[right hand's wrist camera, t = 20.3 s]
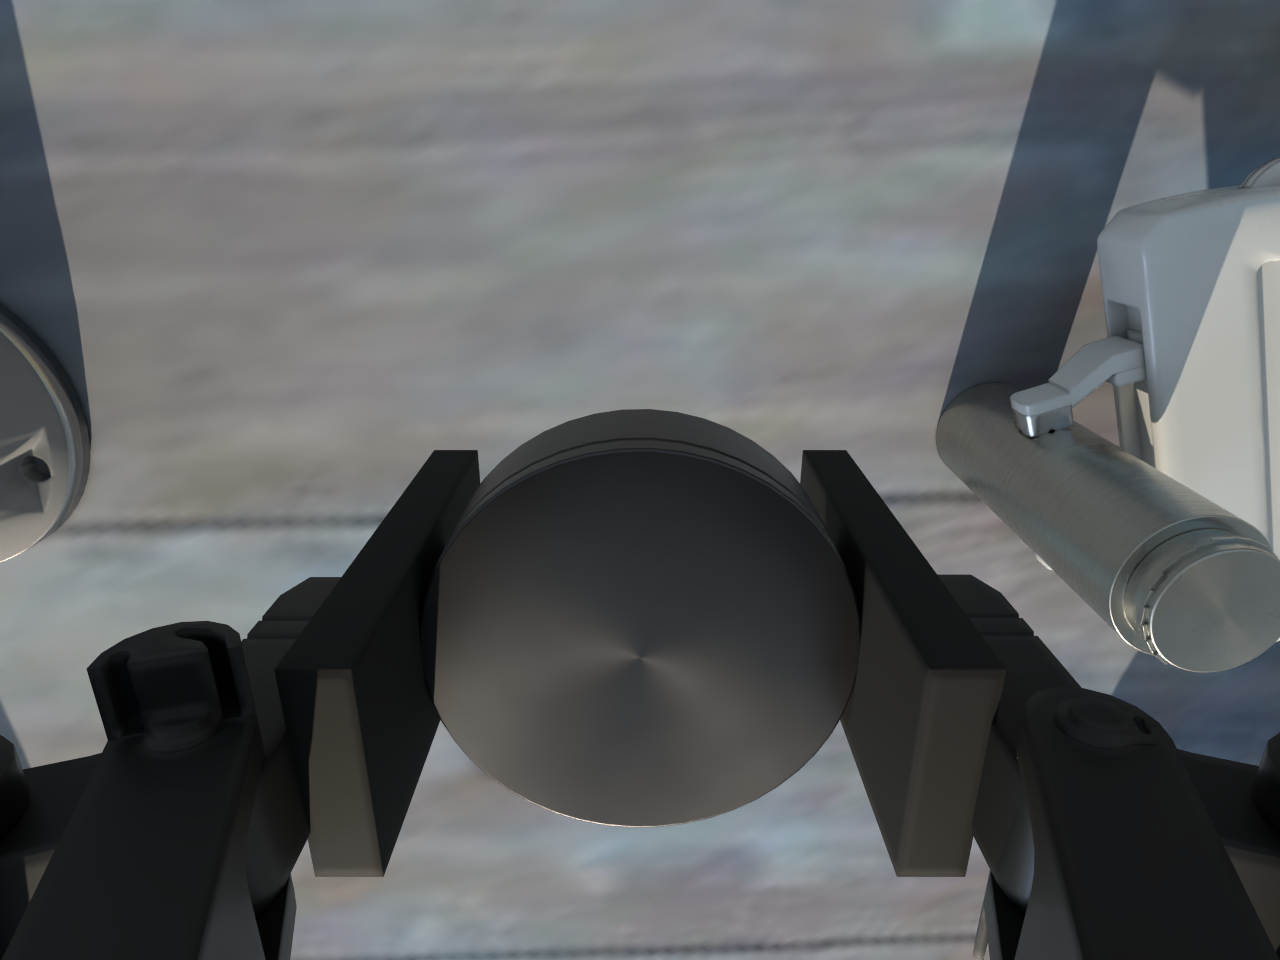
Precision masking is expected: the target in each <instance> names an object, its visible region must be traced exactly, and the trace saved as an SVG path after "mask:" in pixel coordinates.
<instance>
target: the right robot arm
mask: <svg viewBox="0 0 1280 960" xmlns="http://www.w3.org/2000/svg"><path fill="white" fill-rule="evenodd" d="M89 465H90V442H89V435H88V429H87V424H86V420H85V416H84V413H83V410H82V407H81V404H80V402H79V399H78V397H77V395H76V392H75V390H74V388H73V386H72V384H71V382H70V381H69V379H68V377H67V375H66V373H65V372H64V370H63V369H62V367H61V366H60V364H59V363H58V361H57V360H56V358H55V357H54V356H53V354H52V353H51V352H50V351H49V349H48V348H47V347H46V346H45V344H44V343H43V342H42V341H41V340H40V339H39V338H38V337H37V336H36V335H35V333H34V332H33V331H32V330H31V329H29V328H28V327H27V326H26V325H25V324H24V323H23V322H22V321H21V320H20V319H19V318H17V317H16V316H15V315H14V314H12V313H11V312H10V311H9V310H7V309H6V308H5V307H3V306H2V305H0V562H2V561H5V560H7V559H10V558H12V557H14V556H16V555H18V554H20V553H22V552H24V551H26V550H27V549H29V548H30V547H32V546H34V545H35V544H37V543H38V542H40V541H42V540H43V539H45V538H46V537H48V536H49V535H51V534H52V533H53V532H55V531H56V530H57V529H58V528H59V527H60V526H61V525H63V524H64V522H65V521H66V520H67V519H68V518H69V517H70V515H71V514H72V513H73V511H74V510H75V508H76V506H77V505H78V503H79V501H80V499H81V497H82V495H83V492H84V489H85V486H86V483H87V478H88V473H89ZM479 485H480V475H479V462H478V450H434V452H433V453H432V454H431V456H430V457H429V458H428V460H427V461H426V462H425V464H424V465H423V467H422V468H421V469H420V471H419V472H418V473H417V475H416V476H415V478H414V479H413V480H412V482H411V483H410V484H409V486H408V487H407V488H406V490H405V491H404V493H403V494H402V495H401V497H400V498H399V499H398V501H397V502H396V504H395V505H394V506H393V508H392V509H391V510H390V512H389V513H388V514H387V516H386V517H385V519H384V520H383V521H382V523H381V524H380V525H379V527H378V528H377V529H376V531H375V532H374V534H373V535H372V536H371V538H370V539H369V540H368V542H367V543H366V545H365V546H364V547H363V549H362V550H361V551H360V553H359V554H358V555H357V557H356V558H355V560H354V561H353V562H352V564H351V565H350V566H349V568H348V569H347V571H346V572H345V573H344V575H343V576H342V577H310V578H308V579H307V580H305V581H303V582H302V583H300V584H298V585H297V586H295V587H293V588H292V589H290V590H288V591H287V592H285V593H284V594H282V595H280V596H279V598H278V599H277V600H276V601H275V602H274V604H273V605H272V606H271V607H270V608H269V609H268V611H267V612H266V613H265V614H264V615H263V617H262V618H263V619H262V621H258V622H257V624H256V625H255V626H254V627H253V628H252V630H251V631H250V632H249V633H248V637H247V639H243V640H242V641H241V639H240V634H239V633H238V632H237V631H235V630H234V629H232V628H231V627H230V626H228V625H226V624H220V623H215V622H210V621H196V622H180V623H175V624H171V625H166V626H162V627H157V628H152V629H150V630H147V631H145V632H142V633H139V634H137V635H134V636H132V637H129V638H126V639H124V640H122V641H121V642H119V643H117V644H116V645H114V646H113V647H111V648H109V649H108V650H106V651H104V652H103V653H101V654H100V655H99V656H98V657H97V658H96V659H95V660H94V662H93V663H92V664H91V665H90V666H89V667H88V668H87V672H88V675H89V679H90V682H91V685H92V689H93V692H94V695H95V699H96V702H97V705H98V709H99V712H100V715H101V718H102V722H103V725H104V728H105V732H106V735H107V738H108V742H107V744H106V746H105V748H104V750H103V752H102V753H100V754H96V755H92V756H88V757H83V758H78V759H73V760H68V761H63V762H58V763H53V764H48V765H44V766H39V767H34V768H29V769H24V770H23V769H22V766H21V763H20V761H19V758H18V755H17V752H16V749H15V746H14V744H12V743H11V742H10V741H8V740H7V739H6V738H4V737H3V736H1V735H0V960H290V956H291V948H292V939H293V931H294V923H295V915H296V900H295V893H294V887H293V882H292V878H291V871H292V869H293V867H294V865H295V863H296V861H297V859H298V857H299V855H300V853H301V851H302V849H303V847H304V845H305V843H306V841H307V839H308V842H309V847H310V853H311V858H312V863H313V868H314V873H315V877H384V874H385V871H386V868H387V865H388V863H389V860H390V857H391V854H392V852H393V849H394V846H395V843H396V841H397V838H398V835H399V832H400V830H401V827H402V824H403V821H404V819H405V816H406V813H407V810H408V808H409V805H410V802H411V799H412V797H413V794H414V791H415V788H416V785H417V783H418V780H419V777H420V774H421V772H422V769H423V766H424V763H425V761H426V758H427V755H428V752H429V750H430V747H431V744H432V741H433V739H434V736H435V733H436V730H437V728H438V725H439V722H440V718H439V715H438V713H437V711H436V709H435V707H434V705H433V702H432V700H431V698H430V696H429V692H428V689H427V686H426V682H425V677H424V670H423V661H422V653H421V644H420V633H419V621H420V615H421V609H422V603H423V598H424V595H425V591H426V588H427V585H428V582H429V579H430V576H431V573H432V571H433V569H434V567H435V565H436V564H437V562H438V560H439V558H440V556H441V554H442V552H443V550H444V548H445V546H446V544H447V542H448V540H449V538H450V536H451V534H452V532H453V531H454V529H455V527H456V525H457V523H458V521H459V519H460V517H461V515H462V513H463V511H464V509H465V507H466V505H467V504H468V502H469V500H470V498H471V497H472V495H473V494H474V492H475V491H476V490H477V488H478V487H479ZM800 485H801V486H802V487H803V488H804V490H805V491H806V492H807V494H808V496H809V497H810V499H811V501H812V503H813V504H814V506H815V508H816V510H817V511H818V513H819V515H820V517H821V519H822V521H823V523H824V525H825V527H826V529H827V531H828V533H829V534H830V536H831V538H832V540H833V542H834V544H835V546H836V548H837V550H838V552H839V554H840V556H841V558H842V560H843V562H844V564H845V565H846V568H847V571H848V573H849V576H850V578H851V581H852V584H853V586H854V589H855V592H856V597H857V601H858V606H859V611H860V616H861V641H860V650H859V659H858V667H857V675H856V681H855V685H854V689H853V692H852V694H851V697H850V699H849V701H848V704H847V706H846V709H845V711H844V713H843V715H842V717H841V718H840V721H841V723H842V726H843V729H844V732H845V734H846V737H847V740H848V743H849V745H850V748H851V751H852V754H853V756H854V759H855V762H856V765H857V768H858V770H859V773H860V776H861V779H862V781H863V784H864V787H865V790H866V792H867V795H868V798H869V801H870V803H871V806H872V809H873V812H874V814H875V817H876V820H877V823H878V825H879V828H880V831H881V834H882V836H883V839H884V842H885V845H886V848H887V850H888V853H889V856H890V859H891V861H892V864H893V867H894V870H895V872H896V875H897V877H965V875H966V870H967V865H968V860H969V855H970V850H971V845H972V840H973V836H974V838H975V840H976V842H977V844H978V846H979V848H980V850H981V852H982V854H983V856H984V858H985V860H986V862H987V864H988V866H989V868H990V873H989V878H988V882H987V887H986V892H985V897H984V901H983V906H982V911H981V915H980V920H979V925H978V929H977V934H976V939H975V945H974V951H973V958H977V959H981V960H984V956H985V952H986V947H987V943H988V946H989V954H990V960H1280V733H1279V734H1277V735H1276V736H1274V737H1273V738H1272V739H1270V740H1269V741H1268V743H1267V746H1266V748H1265V751H1264V754H1263V757H1262V760H1261V763H1260V765H1259V766H1255V765H1250V764H1245V763H1240V762H1235V761H1230V760H1225V759H1220V758H1215V757H1210V756H1205V755H1200V754H1195V753H1191V752H1187V751H1183V750H1179V749H1177V748H1176V746H1175V744H1174V742H1173V740H1172V739H1171V737H1170V736H1169V735H1168V734H1167V732H1166V731H1165V730H1164V729H1163V727H1162V726H1161V725H1160V724H1159V722H1157V721H1156V720H1154V719H1153V718H1152V717H1150V716H1149V715H1147V714H1146V713H1145V712H1143V711H1142V710H1140V709H1139V708H1138V707H1136V706H1134V705H1131V704H1129V703H1127V702H1125V701H1122V700H1120V699H1118V698H1116V697H1113V696H1111V695H1108V694H1104V693H1100V692H1096V691H1092V690H1088V689H1084V688H1081V687H1080V685H1079V684H1078V683H1077V682H1076V681H1075V680H1074V678H1073V677H1072V676H1071V675H1070V674H1069V672H1068V671H1067V670H1066V669H1065V668H1064V667H1063V665H1062V664H1061V663H1060V662H1059V661H1058V660H1057V658H1056V657H1055V656H1054V655H1053V654H1052V652H1051V651H1050V650H1049V649H1048V648H1047V647H1046V645H1045V644H1044V643H1043V642H1042V641H1041V640H1040V638H1039V637H1038V636H1034V631H1033V630H1032V629H1031V628H1030V627H1029V625H1028V624H1027V623H1026V622H1025V621H1024V620H1023V618H1019V614H1018V613H1017V611H1016V610H1015V609H1014V608H1013V607H1012V605H1011V604H1010V603H1009V602H1008V601H1007V600H1006V598H1005V597H1004V596H1003V595H1002V594H1001V593H1000V592H999V591H997V590H995V589H994V588H992V587H990V586H989V585H987V584H985V583H984V582H982V581H980V580H979V579H977V578H975V577H974V576H972V575H937V574H936V573H935V571H934V570H933V568H932V567H931V566H930V564H929V563H928V562H927V560H926V559H925V557H924V556H923V555H922V553H921V552H920V551H919V549H918V548H917V547H916V545H915V544H914V542H913V541H912V540H911V538H910V537H909V536H908V534H907V533H906V531H905V530H904V529H903V527H902V526H901V525H900V523H899V522H898V521H897V519H896V518H895V516H894V515H893V514H892V512H891V511H890V510H889V508H888V507H887V506H886V504H885V503H884V501H883V500H882V499H881V497H880V496H879V495H878V493H877V492H876V490H875V489H874V488H873V486H872V485H871V484H870V482H869V481H868V480H867V478H866V477H865V475H864V474H863V473H862V471H861V470H860V469H859V467H858V466H857V464H856V463H855V462H854V460H853V459H852V458H851V456H850V455H849V454H848V452H847V451H846V450H803V456H802V469H801V481H800Z"/></svg>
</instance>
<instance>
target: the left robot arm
mask: <svg viewBox="0 0 1280 960" xmlns="http://www.w3.org/2000/svg"><path fill="white" fill-rule="evenodd" d="M1097 249H1098V258H1099V267H1100V275H1101V284H1102V293H1103V302H1104V310H1105V319H1106V328H1107V337H1108V338H1106V339H1103V340H1099V341H1096V342H1093V343H1090V344H1086V345H1084V346H1083V347H1082V348H1081V349H1080V350H1079V351H1078V352H1076V353H1075V354H1074V355H1073V356H1072V357H1071V358H1070V359H1069V360H1068V361H1067V362H1066V363H1065V364H1064V365H1063V366H1062V367H1061V368H1060V369H1059V370H1058V371H1057V372H1056V373H1055V374H1054V375H1053V376H1052V377H1051V378H1050V379H1049V383H1045V384H1042V385H1039V386H1036V387H1032V388H1029V389H1026V390H1023V391H1019V392H1016V393H1014V394H1012V395H1011V397H1010V399H1011V406H1012V412H1013V418H1014V423H1015V428H1016V429H1017V430H1018V431H1019V430H1021V431H1022V432H1023V434H1024V435H1026V436H1030V437H1035V436H1041V435H1044V434H1046V433H1048V432H1049V431H1050V430H1051V429H1053V430H1062V429H1065V428H1068V427H1072V426H1073V417H1072V408H1073V407H1074V406H1076V405H1077V404H1078V403H1079V402H1081V401H1082V400H1083V399H1084V398H1085V397H1087V396H1088V395H1089V394H1090V393H1091V392H1093V391H1094V390H1095V389H1096V388H1098V387H1099V386H1100V385H1101V384H1102V383H1104V382H1105V381H1106V382H1109V383H1111V384H1113V390H1114V399H1115V407H1116V416H1117V425H1118V434H1119V442H1120V448H1121V449H1123V450H1125V451H1127V452H1128V453H1130V454H1132V455H1133V456H1135V457H1137V458H1138V459H1140V460H1142V461H1144V462H1145V463H1147V464H1149V465H1150V466H1152V467H1154V468H1156V469H1157V470H1159V471H1161V472H1162V473H1164V474H1166V475H1167V476H1169V477H1171V478H1173V479H1174V480H1176V481H1178V482H1179V483H1181V484H1183V485H1184V486H1186V487H1188V488H1190V489H1191V490H1193V491H1195V492H1196V493H1198V494H1200V495H1202V496H1203V497H1205V498H1207V499H1208V500H1210V501H1212V502H1213V503H1215V504H1217V505H1219V506H1220V507H1222V508H1224V509H1225V510H1227V511H1229V512H1231V513H1232V514H1234V515H1236V516H1237V517H1239V518H1241V519H1242V520H1244V521H1246V522H1248V523H1249V524H1251V525H1253V526H1254V527H1255V528H1257V529H1258V530H1259V531H1260V532H1261V533H1262V534H1263V535H1264V536H1265V537H1266V539H1267V540H1268V542H1269V543H1270V545H1271V547H1272V550H1273V552H1274V554H1275V555H1276V556H1278V559H1279V560H1280V157H1277V158H1274V159H1272V160H1270V161H1268V162H1266V163H1265V164H1263V165H1261V166H1260V167H1258V168H1257V169H1255V170H1254V171H1253V172H1252V173H1251V174H1250V175H1249V176H1248V177H1247V178H1246V179H1245V180H1244V182H1243V183H1242V185H1239V186H1228V187H1221V188H1213V189H1207V190H1201V191H1195V192H1190V193H1185V194H1180V195H1175V196H1170V197H1166V198H1161V199H1157V200H1153V201H1149V202H1146V203H1142V204H1138V205H1135V206H1131V207H1128V208H1125V209H1123V210H1121V211H1119V212H1118V213H1117V214H1116V215H1115V216H1114V217H1113V219H1112V220H1111V221H1110V222H1109V223H1108V224H1107V225H1106V227H1105V228H1104V229H1103V230H1102V232H1101V233H1100V234H1099V236H1098V239H1097ZM1036 557H1037V559H1038V560H1039V561H1040V562H1041V563H1042V564H1043V565H1044V566H1045V567H1046V568H1047V569H1049V570H1052V569H1051V568H1050V567H1049V566H1048V565H1047V564H1046V563H1045V562H1044V561H1043V560H1042V559H1041V558H1040V557H1039V556H1038V555H1037V554H1036ZM1277 641H1280V638H1279V639H1278V640H1277ZM1277 641H1276V642H1277Z"/></svg>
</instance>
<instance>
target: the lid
mask: <svg viewBox="0 0 1280 960" xmlns="http://www.w3.org/2000/svg"><path fill="white" fill-rule="evenodd" d="M419 633H420V644H421V653H422V661H423V670H424V677H425V682H426V686H427V689H428V692H429V696H430V698H431V700H432V702H433V705H434V707H435V709H436V711H437V713H438V715H439V718H440V720H441V721H442V723H443V724H444V726H445V727H446V729H447V730H448V732H449V733H450V735H451V737H452V738H453V740H454V741H455V742H456V743H457V744H458V746H459V747H460V748H461V749H462V750H463V751H464V753H465V754H466V755H467V756H468V757H469V759H471V760H472V761H473V762H474V763H475V764H476V765H477V766H478V767H479V768H480V769H481V770H483V771H484V772H485V773H486V774H487V775H488V776H489V777H491V778H492V779H494V780H495V781H496V782H498V783H499V784H501V785H502V786H503V787H505V788H506V789H508V790H509V791H511V792H513V793H514V794H516V795H518V796H520V797H522V798H523V799H525V800H527V801H529V802H531V803H533V804H535V805H538V806H540V807H542V808H545V809H547V810H550V811H552V812H554V813H557V814H561V815H564V816H567V817H571V818H574V819H577V820H581V821H587V822H592V823H597V824H602V825H611V826H622V827H661V826H669V825H678V824H685V823H689V822H694V821H698V820H703V819H707V818H711V817H714V816H717V815H720V814H723V813H726V812H729V811H732V810H734V809H737V808H739V807H741V806H743V805H745V804H747V803H750V802H752V801H754V800H756V799H758V798H760V797H761V796H763V795H765V794H766V793H768V792H770V791H771V790H773V789H775V788H776V787H778V786H779V785H781V784H782V783H783V782H784V781H786V780H787V779H788V778H790V777H791V776H792V775H794V774H795V773H796V772H797V771H799V770H800V769H801V768H802V767H803V766H804V765H805V764H806V763H807V762H808V761H809V760H810V759H811V758H812V757H813V756H814V755H815V754H816V753H817V752H818V750H819V749H820V748H821V746H822V745H823V744H824V743H825V741H826V740H827V739H828V738H829V736H830V735H831V734H832V732H833V730H834V729H835V727H836V725H837V723H838V722H839V720H840V718H841V717H842V715H843V713H844V711H845V709H846V706H847V704H848V701H849V699H850V697H851V694H852V692H853V689H854V685H855V681H856V675H857V667H858V659H859V650H860V641H861V616H860V611H859V606H858V601H857V597H856V592H855V589H854V586H853V584H852V581H851V578H850V576H849V573H848V571H847V568H846V565H845V564H844V562H843V560H842V558H841V556H840V554H839V552H838V550H837V548H836V546H835V544H834V542H833V540H832V538H831V536H830V534H829V533H828V531H827V529H826V527H825V525H824V523H823V521H822V519H821V517H820V515H819V513H818V511H817V510H816V508H815V506H814V504H813V503H812V501H811V499H810V497H809V496H808V494H807V492H806V491H805V490H804V488H803V487H802V486H801V485H800V483H799V482H798V481H797V480H796V478H795V477H794V476H793V474H792V473H791V472H790V471H789V470H788V469H787V468H786V467H785V466H783V465H782V464H781V463H780V462H779V461H778V460H777V459H776V458H775V457H774V456H773V455H772V454H770V453H769V452H767V451H766V450H765V449H763V448H762V447H761V446H759V445H758V444H756V443H755V442H754V441H752V440H750V439H749V438H747V437H745V436H743V435H741V434H739V433H737V432H735V431H734V430H732V429H730V428H728V427H725V426H722V425H720V424H717V423H714V422H712V421H709V420H706V419H704V418H700V417H695V416H691V415H687V414H683V413H679V412H671V411H662V410H652V409H637V410H617V411H611V412H604V413H597V414H592V415H589V416H585V417H582V418H578V419H575V420H571V421H568V422H566V423H563V424H561V425H558V426H556V427H554V428H551V429H549V430H547V431H544V432H543V433H541V434H539V435H538V436H536V437H534V438H532V439H531V440H529V441H527V442H526V443H524V444H522V445H521V446H520V447H518V448H517V449H516V450H515V451H513V452H512V453H511V454H509V455H508V456H507V457H506V458H504V459H503V460H502V461H501V462H500V463H499V464H498V465H497V466H496V467H495V468H494V469H493V470H492V471H491V472H490V473H489V474H488V475H487V477H486V478H485V479H484V480H483V481H482V483H481V484H480V485H479V487H478V488H477V490H476V491H475V492H474V494H473V495H472V497H471V498H470V500H469V502H468V504H467V505H466V507H465V509H464V511H463V513H462V515H461V517H460V519H459V521H458V523H457V525H456V527H455V529H454V531H453V532H452V534H451V536H450V538H449V540H448V542H447V544H446V546H445V548H444V550H443V552H442V554H441V556H440V558H439V560H438V562H437V564H436V565H435V567H434V569H433V571H432V573H431V576H430V579H429V582H428V585H427V588H426V591H425V595H424V598H423V603H422V609H421V615H420V621H419Z"/></svg>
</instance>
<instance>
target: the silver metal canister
mask: <svg viewBox="0 0 1280 960" xmlns="http://www.w3.org/2000/svg"><path fill="white" fill-rule="evenodd" d="M1019 391H1023V390H1021V389H1019V388H1017V387H1015V386H1013V385H1010V384H1006V383H998V382H994V383H985V384H981V385H977V386H974V387H972V388H970V389H968V390H966V391H964V392H963V393H961V394H960V395H958V396H957V397H956V398H955V399H954V400H953V401H952V402H951V403H950V404H949V405H948V406H947V408H946V409H945V411H944V412H943V414H942V416H941V418H940V420H939V423H938V427H937V431H936V445H937V450H938V453H939V455H940V457H941V459H942V461H943V462H944V463H945V465H946V466H947V467H948V468H949V469H950V470H951V471H952V472H953V473H954V474H955V475H956V476H957V477H958V478H960V479H961V480H962V481H963V482H964V483H965V484H966V485H967V486H968V487H969V488H970V489H971V490H972V491H973V492H974V493H975V494H976V495H977V496H978V497H979V498H980V499H981V500H982V501H983V502H984V503H985V504H986V505H987V506H988V507H989V508H990V509H991V510H992V511H993V512H994V513H995V514H996V515H997V516H998V517H999V518H1000V519H1001V520H1002V521H1003V522H1004V523H1005V524H1006V525H1007V526H1008V527H1009V528H1010V529H1012V530H1013V531H1014V532H1015V533H1016V534H1017V535H1018V536H1019V537H1020V538H1021V539H1022V540H1023V541H1024V542H1025V543H1026V544H1027V545H1028V546H1029V547H1030V548H1031V549H1032V550H1033V551H1034V552H1035V553H1036V554H1037V555H1038V556H1039V557H1040V558H1041V559H1042V560H1043V561H1044V562H1045V563H1046V564H1047V565H1048V566H1049V567H1050V568H1051V569H1052V570H1053V571H1054V572H1055V573H1056V574H1057V575H1058V576H1059V577H1060V578H1061V579H1062V580H1064V581H1065V582H1066V583H1067V584H1068V585H1069V586H1070V587H1071V588H1072V589H1073V590H1074V591H1075V592H1076V593H1077V594H1078V595H1079V596H1080V597H1081V598H1082V599H1083V600H1084V601H1085V602H1086V603H1087V604H1088V605H1089V606H1090V607H1091V608H1092V609H1093V610H1094V611H1095V612H1096V613H1097V614H1098V615H1099V616H1100V617H1101V618H1102V619H1103V620H1104V621H1105V622H1106V623H1107V624H1108V625H1109V626H1110V627H1111V628H1112V629H1113V630H1115V631H1116V632H1117V633H1118V634H1119V635H1120V636H1121V637H1122V638H1123V639H1124V640H1125V641H1126V642H1127V643H1128V644H1130V645H1131V646H1132V647H1134V648H1136V649H1138V650H1140V651H1142V652H1144V653H1147V654H1150V655H1155V656H1156V657H1157V658H1158V659H1160V660H1161V661H1162V662H1163V663H1164V664H1166V665H1167V664H1169V663H1170V664H1172V665H1174V666H1176V667H1178V668H1181V669H1184V670H1188V671H1193V672H1217V671H1223V670H1228V669H1232V668H1234V667H1237V666H1240V665H1242V664H1245V663H1247V662H1249V661H1251V660H1253V659H1254V658H1256V657H1258V656H1259V655H1261V654H1262V653H1263V652H1265V651H1266V650H1267V649H1269V648H1270V647H1271V646H1272V645H1273V644H1274V643H1275V642H1276V641H1277V640H1278V639H1279V638H1280V560H1279V559H1278V556H1276V555H1275V554H1274V552H1273V550H1272V547H1271V545H1270V543H1269V542H1268V540H1267V539H1266V537H1265V536H1264V535H1263V534H1262V533H1261V532H1260V531H1259V530H1258V529H1257V528H1255V527H1254V526H1253V525H1251V524H1249V523H1248V522H1246V521H1244V520H1242V519H1241V518H1239V517H1237V516H1236V515H1234V514H1232V513H1231V512H1229V511H1227V510H1225V509H1224V508H1222V507H1220V506H1219V505H1217V504H1215V503H1213V502H1212V501H1210V500H1208V499H1207V498H1205V497H1203V496H1202V495H1200V494H1198V493H1196V492H1195V491H1193V490H1191V489H1190V488H1188V487H1186V486H1184V485H1183V484H1181V483H1179V482H1178V481H1176V480H1174V479H1173V478H1171V477H1169V476H1167V475H1166V474H1164V473H1162V472H1161V471H1159V470H1157V469H1156V468H1154V467H1152V466H1150V465H1149V464H1147V463H1145V462H1144V461H1142V460H1140V459H1138V458H1137V457H1135V456H1133V455H1132V454H1130V453H1128V452H1127V451H1125V450H1123V449H1121V448H1120V447H1118V446H1116V445H1115V444H1113V443H1111V442H1109V441H1108V440H1106V439H1104V438H1103V437H1101V436H1099V435H1098V434H1096V433H1094V432H1092V431H1091V430H1089V429H1087V428H1086V427H1084V426H1082V425H1081V424H1079V423H1077V422H1075V421H1074V420H1073V426H1072V427H1068V428H1065V429H1062V430H1053V429H1051V430H1050V431H1049V432H1048V433H1046V434H1044V435H1041V436H1035V437H1030V436H1026V435H1024V434H1023V432H1022V431H1021V430H1019V431H1018V430H1017V429H1016V428H1015V423H1014V418H1013V412H1012V406H1011V399H1010V397H1011V395H1012V394H1014V393H1016V392H1019Z"/></svg>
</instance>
